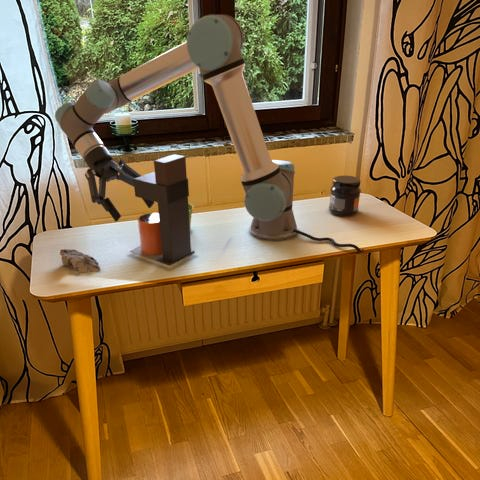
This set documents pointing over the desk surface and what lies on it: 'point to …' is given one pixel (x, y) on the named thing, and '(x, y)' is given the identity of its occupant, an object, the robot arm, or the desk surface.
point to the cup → (150, 234)
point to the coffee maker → (168, 207)
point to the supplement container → (345, 196)
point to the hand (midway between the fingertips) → (135, 212)
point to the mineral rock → (79, 261)
